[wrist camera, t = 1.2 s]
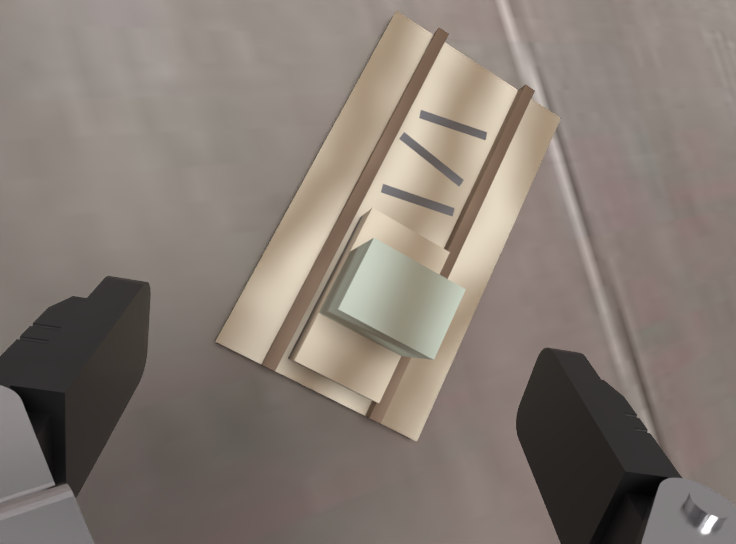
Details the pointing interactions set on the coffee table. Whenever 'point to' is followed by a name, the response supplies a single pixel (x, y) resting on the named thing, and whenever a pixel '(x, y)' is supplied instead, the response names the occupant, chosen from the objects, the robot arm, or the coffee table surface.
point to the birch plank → (399, 204)
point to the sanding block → (378, 307)
